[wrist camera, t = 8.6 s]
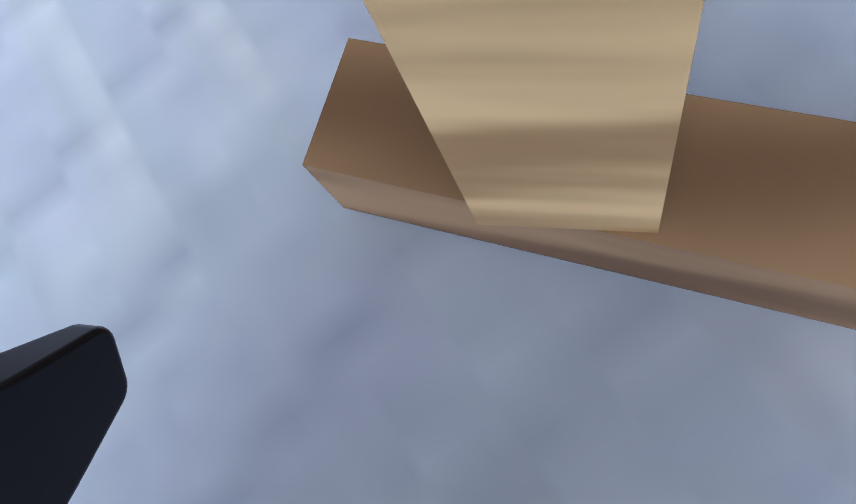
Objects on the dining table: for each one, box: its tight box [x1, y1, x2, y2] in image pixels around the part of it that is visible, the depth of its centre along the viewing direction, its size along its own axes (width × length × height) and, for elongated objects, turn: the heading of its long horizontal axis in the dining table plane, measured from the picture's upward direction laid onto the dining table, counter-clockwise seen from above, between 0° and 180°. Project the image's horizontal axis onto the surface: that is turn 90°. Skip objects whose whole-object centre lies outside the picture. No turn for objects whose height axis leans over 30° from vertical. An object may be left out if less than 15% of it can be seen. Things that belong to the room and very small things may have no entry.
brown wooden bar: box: [302, 38, 856, 329], centre depth 20 cm, size 4×18×4 cm, turn 72°
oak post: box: [363, 0, 705, 233], centre depth 14 cm, size 4×4×12 cm
